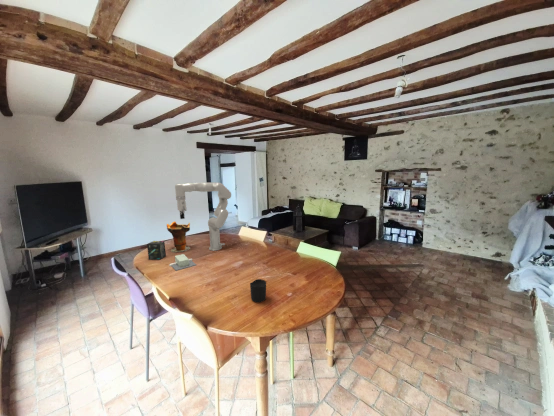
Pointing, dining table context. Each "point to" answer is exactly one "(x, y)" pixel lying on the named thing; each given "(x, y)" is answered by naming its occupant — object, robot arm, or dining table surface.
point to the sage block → (181, 260)
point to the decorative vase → (179, 236)
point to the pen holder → (258, 290)
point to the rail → (176, 263)
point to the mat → (183, 266)
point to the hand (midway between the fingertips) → (182, 218)
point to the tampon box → (156, 250)
